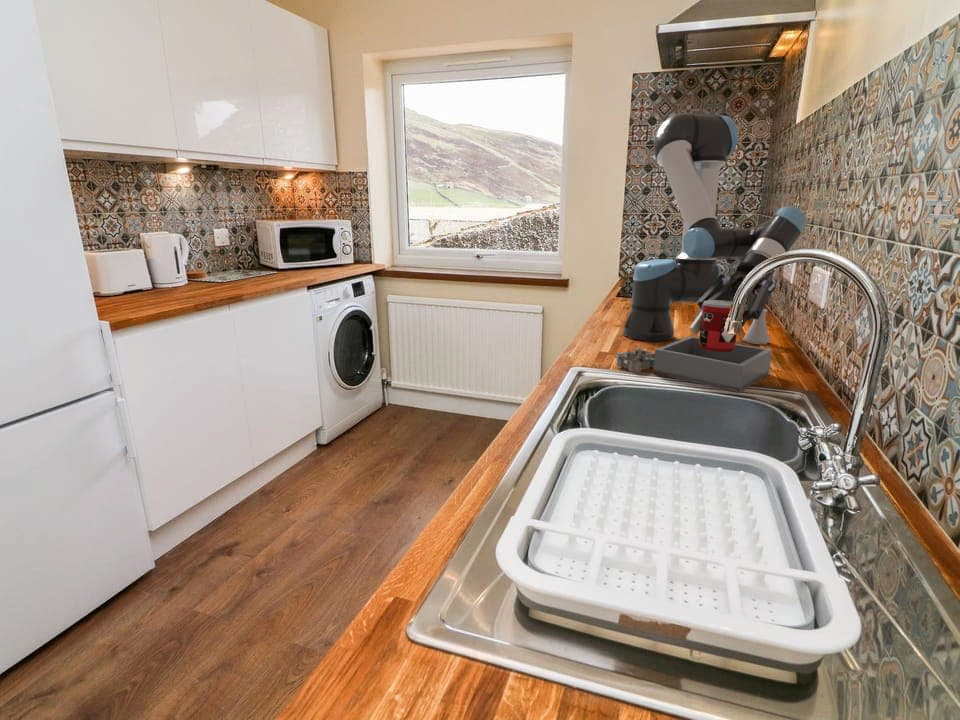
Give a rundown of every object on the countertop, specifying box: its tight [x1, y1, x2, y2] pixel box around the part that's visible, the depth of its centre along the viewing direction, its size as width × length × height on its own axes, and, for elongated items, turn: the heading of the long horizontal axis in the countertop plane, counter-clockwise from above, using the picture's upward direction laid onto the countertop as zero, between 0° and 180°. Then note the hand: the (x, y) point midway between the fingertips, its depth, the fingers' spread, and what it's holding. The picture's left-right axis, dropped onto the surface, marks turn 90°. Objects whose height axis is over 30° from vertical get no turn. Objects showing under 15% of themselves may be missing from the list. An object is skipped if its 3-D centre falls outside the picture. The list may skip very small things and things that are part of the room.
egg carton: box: [614, 347, 655, 372], centre depth 136 cm, size 11×8×4 cm
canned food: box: [698, 300, 738, 352], centre depth 127 cm, size 8×8×11 cm
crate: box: [652, 335, 773, 393], centre depth 130 cm, size 20×20×6 cm
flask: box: [742, 308, 771, 345], centre depth 162 cm, size 7×7×10 cm
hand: (708, 334), depth 126 cm, fingers closed on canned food, 8 cm apart
